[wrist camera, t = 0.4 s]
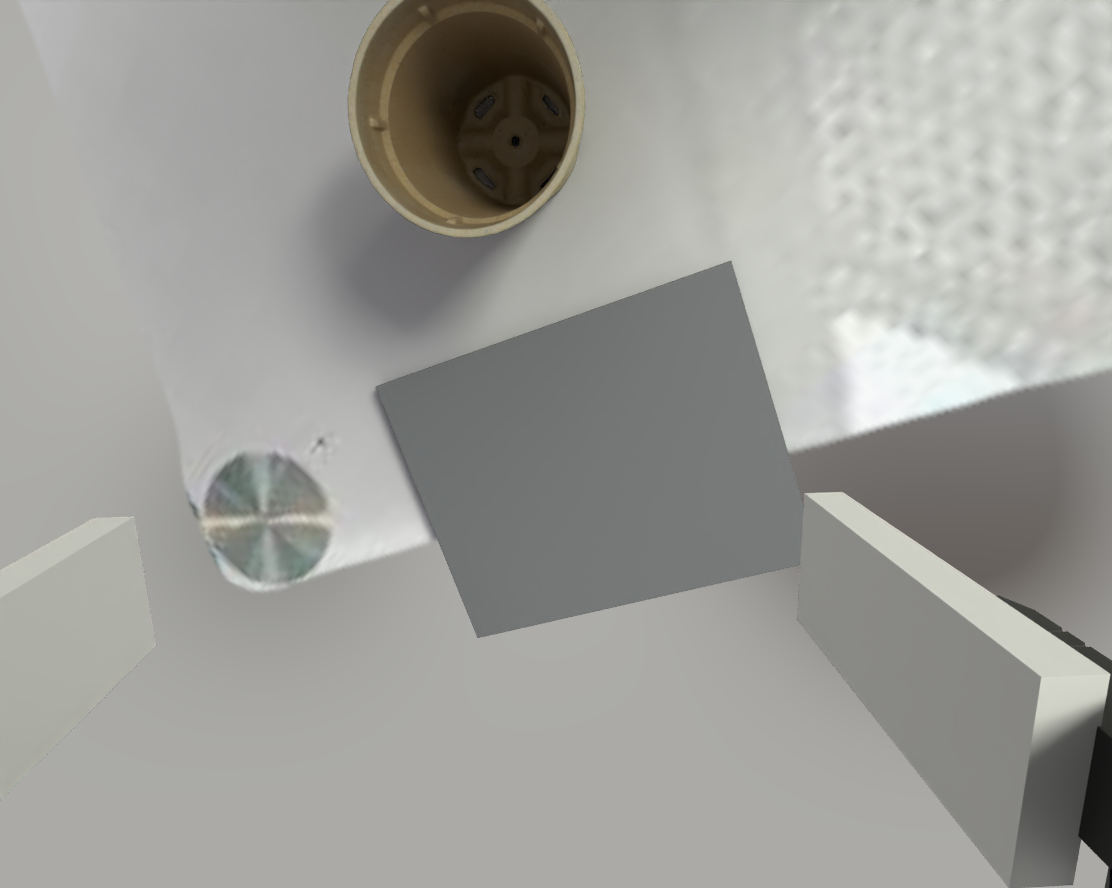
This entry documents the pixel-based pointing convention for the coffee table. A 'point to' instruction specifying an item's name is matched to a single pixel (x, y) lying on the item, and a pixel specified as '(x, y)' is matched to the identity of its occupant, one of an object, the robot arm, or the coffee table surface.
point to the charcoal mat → (603, 457)
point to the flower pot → (466, 111)
